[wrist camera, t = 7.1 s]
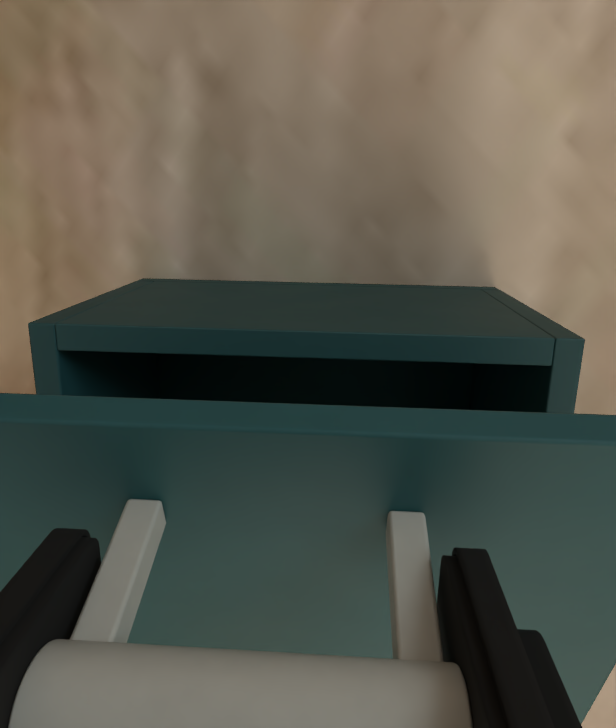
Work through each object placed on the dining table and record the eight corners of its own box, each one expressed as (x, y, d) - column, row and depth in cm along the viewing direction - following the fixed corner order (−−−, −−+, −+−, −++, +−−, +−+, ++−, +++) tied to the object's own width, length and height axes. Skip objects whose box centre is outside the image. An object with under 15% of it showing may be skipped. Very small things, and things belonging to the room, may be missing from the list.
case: (141, 278, 26) (27, 322, 17) (495, 286, 25) (586, 338, 16) (161, 594, 31) (79, 770, 21) (461, 611, 30) (516, 801, 20)
